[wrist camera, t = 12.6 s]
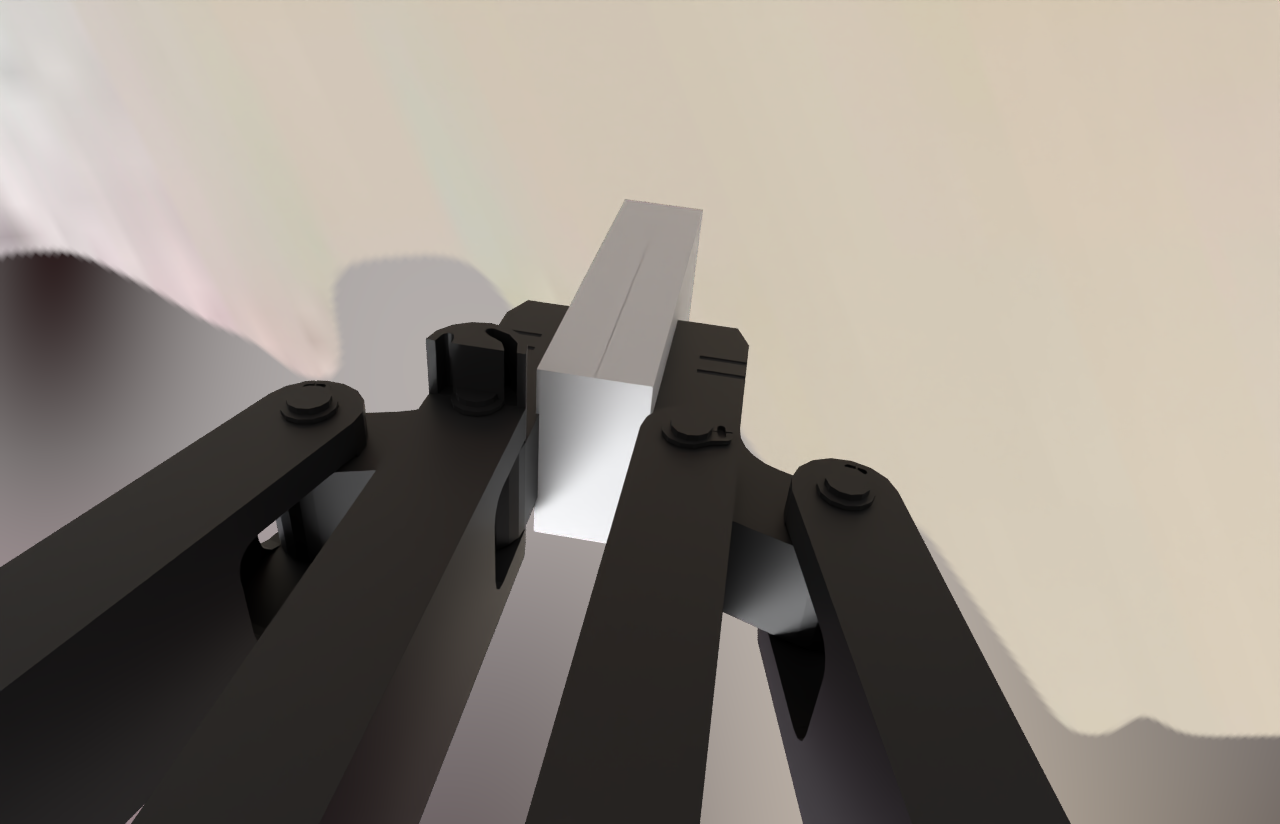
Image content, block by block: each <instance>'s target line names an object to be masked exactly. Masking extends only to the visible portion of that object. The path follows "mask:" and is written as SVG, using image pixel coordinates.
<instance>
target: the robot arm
mask: <svg viewBox="0 0 1280 824" xmlns="http://www.w3.org/2000/svg"><path fill="white" fill-rule="evenodd" d="M702 213H703V210H701V209H694V208H686V207H679V206H671V205H664V204H657V203H649V202H642V201H634V200H627V199H625V201H624V202H623V204H622V206H621V208H620V210H619V212H618V214H617V216H616V218H615V220H614V222H613V224H612V226H611V227H610V229H609V231H608V233H607V235H606V237H605V239H604V241H603V243H602V245H601V247H600V249H599V250H598V252H597V254H596V256H595V258H594V260H593V262H592V264H591V266H590V268H589V270H588V272H587V274H586V275H585V277H584V279H583V281H582V283H581V285H580V287H579V289H578V291H577V293H576V295H575V297H574V299H573V300H572V302H571V304H570V306H564V305H557V304H550V303H543V302H537V301H530V300H528V301H526V302H524V303H522V304H521V305H519V306H517V307H515V308H514V309H512V310H510V311H508V312H507V313H506V315H505V316H504V318H503V319H502V321H501V323H500V324H499V325H496V324H492V323H476V322H471V323H462V324H455V325H451V326H448V327H445V328H443V329H440V330H437V331H435V332H434V333H433V334H432V335H430V336H429V337H428V338H427V339H426V350H427V365H428V381H429V395H428V396H427V397H426V399H425V400H424V402H423V403H422V405H421V406H420V408H419V409H417V410H411V411H401V412H381V413H365V404H364V400H363V398H362V397H361V395H360V394H359V392H358V391H357V390H355V389H353V388H351V387H349V386H347V385H345V384H341V383H335V382H330V381H318V380H317V381H305V382H302V383H297V384H293V385H289V386H285V387H283V388H281V389H279V390H277V391H274V392H272V393H270V394H268V395H267V396H266V397H264V398H262V399H261V400H259V401H257V402H256V403H254V404H253V405H251V406H250V407H248V408H247V409H245V410H244V411H242V412H240V413H239V414H237V415H236V416H234V417H233V418H231V419H230V420H228V421H226V422H225V423H224V424H222V425H221V426H219V427H217V428H216V429H214V430H213V431H211V432H210V433H208V434H206V435H205V436H203V437H202V438H200V439H199V440H197V441H195V442H194V443H192V444H191V445H189V446H188V447H186V448H185V449H183V450H181V451H180V452H179V453H177V454H176V455H174V456H172V457H171V458H169V459H168V460H166V461H164V462H163V463H161V464H160V465H158V466H157V467H155V468H154V469H152V470H150V471H149V472H147V473H146V474H144V475H143V476H141V477H140V478H138V479H136V480H135V481H133V482H132V483H130V484H129V485H127V486H126V487H124V488H123V489H121V490H119V491H118V492H117V493H115V494H113V495H112V496H110V497H109V498H107V499H106V500H104V501H102V502H101V503H99V504H98V505H96V506H95V507H93V508H92V509H90V510H89V511H87V512H85V513H84V514H82V515H81V516H79V517H78V518H76V519H75V520H73V521H71V522H70V523H68V524H67V525H65V526H64V527H62V528H60V529H59V530H57V531H56V532H54V533H53V534H51V535H50V536H48V537H47V538H45V539H44V540H42V541H40V542H39V543H37V544H36V545H34V546H33V547H31V548H29V549H28V550H27V551H25V552H23V553H22V554H20V555H19V556H17V557H16V558H14V559H12V560H11V561H9V562H8V563H6V564H5V565H3V566H2V567H0V824H125V823H126V822H127V821H128V820H129V819H130V818H131V817H132V816H133V815H134V814H135V813H136V812H137V811H138V810H139V809H140V808H141V807H142V806H143V805H144V806H143V808H142V809H141V810H140V812H139V813H138V815H137V816H136V817H135V819H134V820H133V822H132V823H131V824H419V822H420V820H421V817H422V815H423V812H424V809H425V807H426V804H427V802H428V799H429V796H430V794H431V792H432V789H433V787H434V784H435V781H436V779H437V776H438V774H439V771H440V769H441V766H442V764H443V761H444V758H445V756H446V754H447V751H448V748H449V746H450V743H451V741H452V738H453V736H454V733H455V731H456V728H457V726H458V723H459V721H460V718H461V715H462V713H463V710H464V708H465V705H466V703H467V700H468V698H469V695H470V692H471V690H472V688H473V685H474V682H475V680H476V677H477V675H478V672H479V670H480V667H481V665H482V662H483V660H484V657H485V654H486V652H487V649H488V647H489V644H490V642H491V639H492V637H493V634H494V632H495V629H496V626H497V624H498V622H499V619H500V616H501V614H502V611H503V609H504V606H505V603H506V601H507V599H508V596H509V594H510V591H511V589H512V586H513V583H514V581H515V578H516V576H517V573H518V571H519V568H520V566H521V563H522V561H523V558H524V554H525V543H526V524H527V522H528V519H529V517H530V515H531V512H532V510H533V507H534V531H536V532H542V533H548V534H554V535H560V536H566V537H571V538H578V539H583V540H589V541H595V542H601V543H606V546H605V550H604V553H603V557H602V560H601V564H600V567H599V570H598V574H597V577H596V581H595V584H594V587H593V591H592V594H591V598H590V602H589V605H588V608H587V612H586V615H585V619H584V622H583V626H582V629H581V632H580V636H579V639H578V643H577V646H576V650H575V653H574V657H573V660H572V663H571V667H570V670H569V674H568V677H567V681H566V684H565V688H564V691H563V695H562V698H561V701H560V705H559V708H558V712H557V715H556V719H555V722H554V726H553V729H552V733H551V736H550V739H549V743H548V747H547V750H546V753H545V757H544V760H543V764H542V767H541V771H540V774H539V778H538V781H537V784H536V788H535V791H534V795H533V798H532V802H531V805H530V809H529V812H528V816H527V819H526V822H525V824H700V817H701V808H702V799H703V789H704V779H705V771H706V761H707V751H708V743H709V733H710V724H711V715H712V705H713V697H714V686H715V677H716V668H717V659H718V650H719V641H720V631H721V622H722V613H723V612H724V613H726V614H729V615H731V616H733V617H735V618H737V619H740V620H742V621H744V622H746V623H748V624H751V625H753V626H755V627H757V628H758V644H759V648H760V652H761V656H762V660H763V664H764V668H765V672H766V677H767V680H768V685H769V689H770V692H771V696H772V701H773V705H774V709H775V713H776V717H777V721H778V725H779V729H780V733H781V737H782V741H783V745H784V749H785V753H786V757H787V761H788V765H789V769H790V773H791V777H792V781H793V785H794V789H795V793H796V797H797V801H798V805H799V809H800V813H801V817H802V821H803V824H1071V823H1070V821H1069V820H1068V818H1067V816H1066V814H1065V812H1064V810H1063V808H1062V806H1061V804H1060V802H1059V800H1058V798H1057V796H1056V794H1055V793H1054V791H1053V789H1052V787H1051V785H1050V783H1049V781H1048V779H1047V777H1046V775H1045V774H1044V772H1043V769H1042V768H1041V766H1040V764H1039V762H1038V760H1037V758H1036V756H1035V754H1034V752H1033V750H1032V748H1031V746H1030V744H1029V743H1028V741H1027V739H1026V737H1025V735H1024V733H1023V731H1022V729H1021V727H1020V725H1019V724H1018V721H1017V720H1016V718H1015V716H1014V714H1013V712H1012V710H1011V708H1010V706H1009V704H1008V702H1007V700H1006V698H1005V697H1004V695H1003V693H1002V691H1001V689H1000V687H999V685H998V683H997V681H996V679H995V677H994V675H993V673H992V671H991V670H990V668H989V666H988V664H987V662H986V660H985V658H984V656H983V654H982V652H981V650H980V648H979V646H978V644H977V643H976V641H975V639H974V637H973V635H972V633H971V631H970V629H969V627H968V625H967V623H966V621H965V620H964V618H963V616H962V614H961V612H960V610H959V608H958V606H957V604H956V602H955V601H954V598H953V596H952V595H951V593H950V591H949V589H948V587H947V585H946V583H945V581H944V579H943V577H942V575H941V573H940V571H939V570H938V568H937V566H936V564H935V562H934V560H933V558H932V556H931V554H930V552H929V550H928V548H927V546H926V544H925V543H924V541H923V539H922V537H921V535H920V533H919V531H918V529H917V527H916V525H915V523H914V521H913V519H912V518H911V516H910V514H909V512H908V510H907V508H906V506H905V504H904V502H903V500H902V498H901V496H900V494H899V493H898V491H897V490H896V489H895V487H894V486H893V485H892V484H891V483H890V481H889V480H888V479H887V478H885V477H884V476H882V475H881V474H879V473H878V472H876V471H875V470H873V469H872V468H869V467H867V466H864V465H861V464H858V463H856V462H853V461H848V460H840V459H833V458H829V459H820V460H812V461H810V462H808V463H806V464H804V465H802V466H800V467H799V468H798V469H797V471H796V472H795V473H794V475H791V474H788V473H785V472H783V471H780V470H778V469H776V468H773V467H771V466H769V465H767V464H765V463H763V462H762V461H761V460H759V459H758V458H756V457H755V456H753V454H752V453H750V451H749V450H748V449H747V448H746V447H745V445H744V443H743V441H742V439H741V435H740V424H741V414H742V405H743V395H744V386H745V377H746V367H747V358H748V349H749V345H748V343H747V342H746V340H745V339H744V337H743V336H742V334H741V333H740V331H739V330H738V329H736V328H730V327H723V326H716V325H709V324H702V323H695V322H689V315H690V307H691V299H692V292H693V284H694V276H695V268H696V260H697V252H698V244H699V236H700V229H701V221H702ZM275 520H276V523H277V528H278V532H277V533H276V534H275V535H274V536H272V537H271V538H270V539H269V540H267V541H265V542H263V543H260V542H259V539H258V534H259V533H260V532H261V531H263V530H264V529H265V528H266V527H268V526H269V525H270V524H271V523H273V522H274V521H275Z"/></svg>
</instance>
